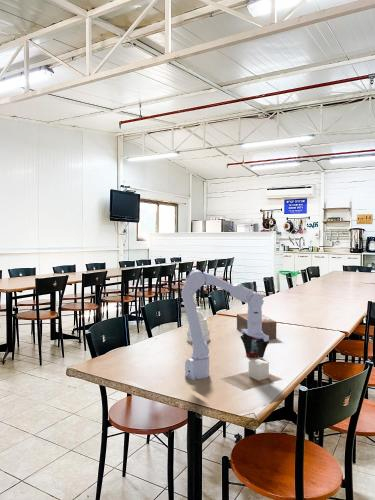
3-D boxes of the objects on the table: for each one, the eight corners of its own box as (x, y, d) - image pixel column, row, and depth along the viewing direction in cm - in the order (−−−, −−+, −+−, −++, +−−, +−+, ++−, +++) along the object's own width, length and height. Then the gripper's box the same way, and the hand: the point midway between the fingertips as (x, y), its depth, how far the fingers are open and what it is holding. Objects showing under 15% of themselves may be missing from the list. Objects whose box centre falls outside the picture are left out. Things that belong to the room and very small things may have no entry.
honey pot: (189, 336, 225) (189, 305, 224) (211, 337, 222) (211, 306, 222) (184, 342, 212) (184, 309, 212) (207, 343, 210) (207, 310, 209)
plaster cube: (258, 380, 152) (258, 365, 152) (248, 376, 156) (248, 361, 156) (268, 377, 155) (268, 362, 155) (258, 373, 159) (258, 358, 159)
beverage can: (244, 357, 186) (244, 332, 185) (247, 353, 192) (247, 329, 192) (258, 358, 183) (258, 333, 183) (261, 354, 190) (261, 330, 189)
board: (244, 394, 142) (244, 390, 142) (220, 382, 154) (220, 378, 154) (282, 382, 153) (282, 379, 153) (257, 372, 165) (257, 368, 165)
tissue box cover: (276, 339, 218) (276, 321, 218) (251, 341, 215) (251, 323, 215) (258, 328, 243) (258, 312, 243) (236, 330, 240) (236, 313, 240)
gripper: (274, 324, 154) (274, 357, 155) (250, 317, 166) (249, 348, 167) (261, 326, 150) (261, 361, 151) (237, 319, 163) (237, 351, 163)
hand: (254, 354), depth 159 cm, fingers open, 7 cm apart
